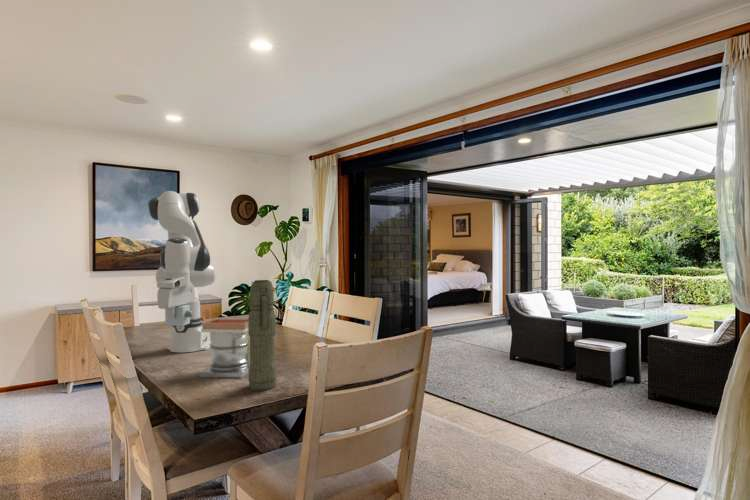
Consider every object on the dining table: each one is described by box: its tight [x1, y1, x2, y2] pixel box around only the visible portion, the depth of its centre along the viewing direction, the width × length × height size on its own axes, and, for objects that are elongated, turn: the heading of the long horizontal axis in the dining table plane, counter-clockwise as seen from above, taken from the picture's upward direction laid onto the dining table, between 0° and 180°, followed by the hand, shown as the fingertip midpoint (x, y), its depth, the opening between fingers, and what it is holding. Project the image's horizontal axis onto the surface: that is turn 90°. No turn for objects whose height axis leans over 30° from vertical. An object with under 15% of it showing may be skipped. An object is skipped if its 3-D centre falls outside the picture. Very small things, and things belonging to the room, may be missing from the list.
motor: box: [198, 318, 250, 379], centre depth 166 cm, size 16×16×19 cm
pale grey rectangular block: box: [164, 305, 193, 326], centre depth 169 cm, size 5×9×7 cm, turn 84°
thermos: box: [248, 279, 277, 392], centre depth 147 cm, size 9×12×35 cm
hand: (177, 317), depth 170 cm, fingers closed on pale grey rectangular block, 5 cm apart
